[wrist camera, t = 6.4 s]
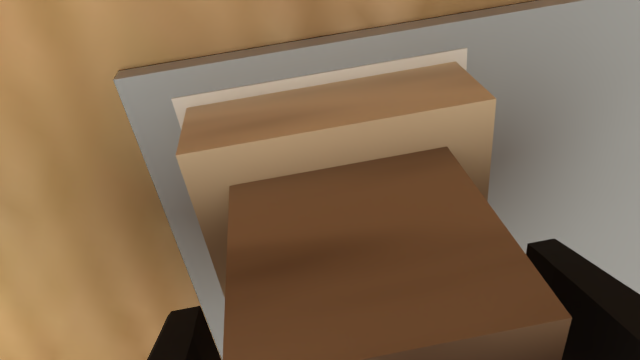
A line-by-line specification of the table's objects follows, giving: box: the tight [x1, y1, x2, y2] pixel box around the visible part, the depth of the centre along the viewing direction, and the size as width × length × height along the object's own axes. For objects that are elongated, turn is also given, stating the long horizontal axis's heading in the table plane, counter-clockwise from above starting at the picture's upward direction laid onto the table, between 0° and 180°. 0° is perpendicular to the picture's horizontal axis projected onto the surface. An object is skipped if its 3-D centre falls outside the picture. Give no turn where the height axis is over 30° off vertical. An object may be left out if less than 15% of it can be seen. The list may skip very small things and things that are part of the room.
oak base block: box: [176, 61, 496, 298], centre depth 13 cm, size 7×7×2 cm
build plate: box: [113, 0, 640, 360], centre depth 16 cm, size 14×20×1 cm
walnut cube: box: [223, 147, 572, 360], centre depth 10 cm, size 5×5×5 cm
